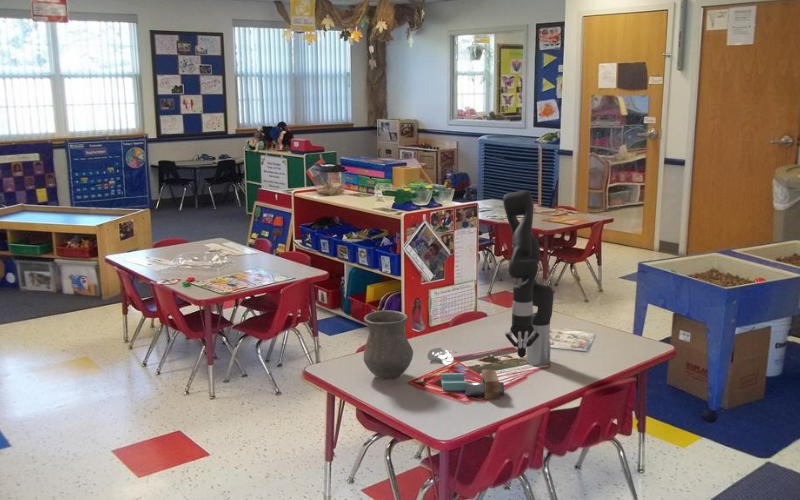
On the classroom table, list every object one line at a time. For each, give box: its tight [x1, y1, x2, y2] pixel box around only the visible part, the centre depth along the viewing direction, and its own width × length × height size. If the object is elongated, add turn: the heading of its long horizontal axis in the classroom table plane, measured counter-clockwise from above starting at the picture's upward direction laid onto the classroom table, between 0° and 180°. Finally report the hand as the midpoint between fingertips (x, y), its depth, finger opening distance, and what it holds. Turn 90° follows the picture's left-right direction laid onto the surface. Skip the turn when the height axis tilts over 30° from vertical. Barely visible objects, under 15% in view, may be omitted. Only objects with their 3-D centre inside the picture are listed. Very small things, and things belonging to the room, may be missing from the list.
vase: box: [363, 309, 414, 381], centre depth 305 cm, size 20×19×25 cm
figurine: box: [427, 347, 458, 366], centre depth 322 cm, size 9×6×12 cm
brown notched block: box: [480, 369, 500, 401], centre depth 290 cm, size 5×12×7 cm, turn 1°
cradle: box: [440, 372, 468, 391], centre depth 298 cm, size 9×10×3 cm
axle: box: [464, 381, 505, 397], centre depth 289 cm, size 14×5×5 cm, turn 92°
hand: (521, 356), depth 287 cm, fingers closed
